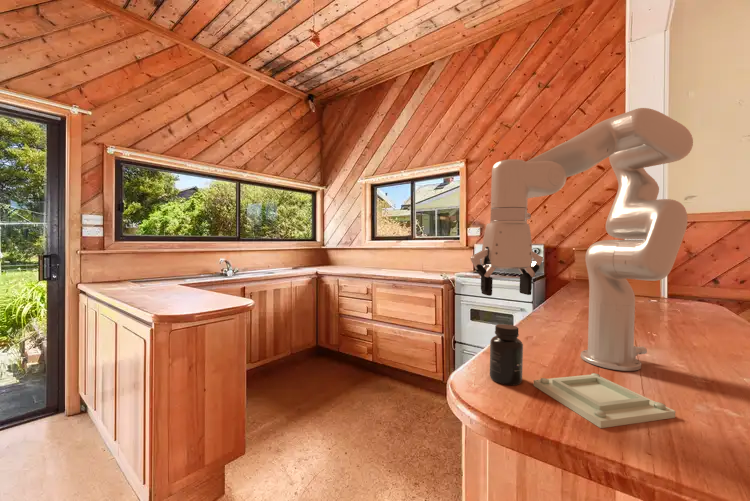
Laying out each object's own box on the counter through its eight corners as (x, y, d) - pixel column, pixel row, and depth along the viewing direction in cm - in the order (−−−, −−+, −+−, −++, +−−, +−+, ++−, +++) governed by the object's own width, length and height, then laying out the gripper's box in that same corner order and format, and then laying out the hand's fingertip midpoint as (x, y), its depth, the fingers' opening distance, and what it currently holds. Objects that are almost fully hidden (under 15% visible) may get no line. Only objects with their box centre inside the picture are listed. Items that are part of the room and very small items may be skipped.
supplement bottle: (525, 387, 68) (527, 331, 67) (492, 384, 69) (493, 329, 69) (518, 374, 74) (519, 323, 74) (487, 372, 76) (488, 321, 76)
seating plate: (595, 379, 72) (595, 369, 72) (675, 417, 56) (675, 405, 56) (533, 385, 69) (533, 375, 69) (600, 428, 53) (600, 415, 53)
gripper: (530, 220, 76) (528, 291, 77) (464, 217, 73) (462, 292, 73) (554, 217, 69) (552, 296, 69) (482, 214, 65) (480, 298, 66)
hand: (506, 294), depth 71 cm, fingers open, 9 cm apart
